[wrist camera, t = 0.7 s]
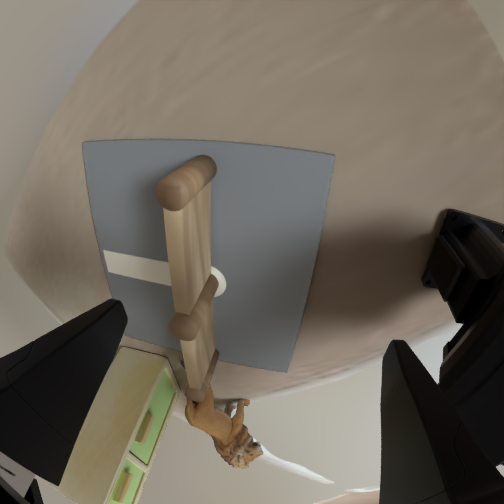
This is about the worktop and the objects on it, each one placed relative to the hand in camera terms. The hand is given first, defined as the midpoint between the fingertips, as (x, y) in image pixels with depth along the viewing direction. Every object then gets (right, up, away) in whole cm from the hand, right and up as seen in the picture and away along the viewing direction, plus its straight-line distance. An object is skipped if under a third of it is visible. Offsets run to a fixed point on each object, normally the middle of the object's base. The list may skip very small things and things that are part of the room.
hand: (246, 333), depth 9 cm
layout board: (-5, +1, +15) cm, 15 cm away
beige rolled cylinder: (-3, +5, +11) cm, 12 cm away
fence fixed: (-4, -4, +17) cm, 18 cm away
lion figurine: (-3, -15, +24) cm, 28 cm away
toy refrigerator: (-12, -13, +25) cm, 31 cm away
